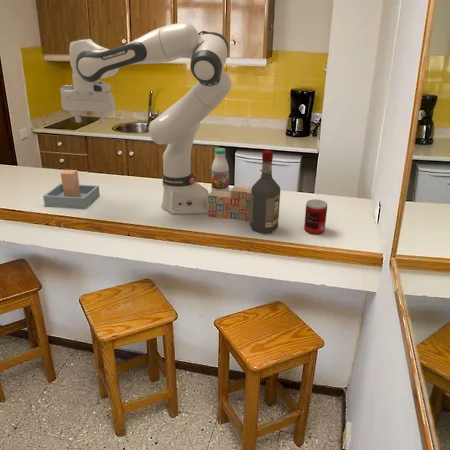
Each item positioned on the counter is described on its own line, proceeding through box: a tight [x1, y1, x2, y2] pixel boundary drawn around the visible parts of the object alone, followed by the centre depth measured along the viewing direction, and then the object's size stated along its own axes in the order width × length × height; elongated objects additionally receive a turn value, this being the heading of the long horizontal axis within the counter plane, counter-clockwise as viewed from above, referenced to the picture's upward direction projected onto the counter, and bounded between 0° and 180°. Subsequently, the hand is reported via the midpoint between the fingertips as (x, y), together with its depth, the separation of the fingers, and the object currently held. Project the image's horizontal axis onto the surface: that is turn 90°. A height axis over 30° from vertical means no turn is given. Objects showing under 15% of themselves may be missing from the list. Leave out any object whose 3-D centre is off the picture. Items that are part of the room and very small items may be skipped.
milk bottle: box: [211, 147, 230, 192], centre depth 201 cm, size 8×8×20 cm
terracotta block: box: [60, 169, 81, 197], centre depth 192 cm, size 5×5×12 cm
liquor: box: [249, 149, 281, 235], centre depth 166 cm, size 9×9×30 cm
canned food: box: [303, 198, 328, 235], centre depth 169 cm, size 8×8×11 cm
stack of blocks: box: [208, 185, 253, 222], centre depth 179 cm, size 21×6×12 cm, turn 76°
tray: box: [42, 183, 101, 210], centre depth 195 cm, size 18×15×4 cm
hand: (90, 122), depth 175 cm, fingers open, 8 cm apart
